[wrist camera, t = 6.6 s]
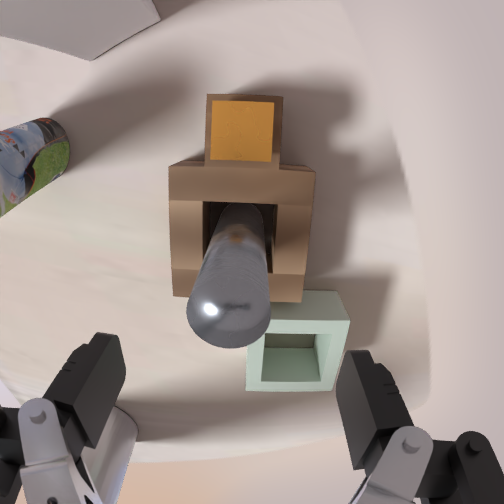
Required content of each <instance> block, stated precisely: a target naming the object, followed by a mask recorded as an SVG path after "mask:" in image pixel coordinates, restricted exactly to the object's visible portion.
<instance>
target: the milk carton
mask: <svg viewBox="0 0 504 504" xmlns="http://www.w3.org/2000/svg"><path fill="white" fill-rule="evenodd" d="M158 21H160V17H159V14H158V12H157V10H156V8H155V6H154V4H153V1H152V0H0V36H3V37H7V38H11V39H15V40H19V41H23V42H27V43H31V44H35V45H38V46H42V47H45V48H49V49H52V50H56V51H59V52H62V53H65V54H69V55H72V56H75V57H78V58H81V59H84V60H87V61H92V60H93V59H95V58H96V57H98V56H99V55H101V54H102V53H104V52H105V51H107V50H109V49H110V48H112V47H113V46H115V45H117V44H118V43H120V42H122V41H124V40H125V39H127V38H129V37H130V36H132V35H134V34H136V33H138V32H139V31H141V30H143V29H145V28H147V27H149V26H151V25H153V24H155V23H156V22H158Z"/></svg>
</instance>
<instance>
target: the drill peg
mask: <svg viewBox="0 0 504 504" xmlns="http://www.w3.org/2000/svg"><path fill="white" fill-rule="evenodd" d="M186 313H187V319H188V322H189V324H190V326H191V328H192V329H193V331H194V332H195V333H196V334H197V335H198V336H199V337H200V338H201V339H203V340H204V341H206V342H207V343H209V344H212V345H214V346H217V347H222V348H240V347H244V346H247V345H250V344H252V343H254V342H255V341H257V340H258V339H259V338H261V337H262V336H263V334H264V333H265V332H266V330H267V329H268V327H269V324H270V320H271V307H270V295H269V284H268V272H267V261H266V250H265V239H264V228H263V219H262V215H261V213H260V211H259V210H258V209H257V208H256V207H255V206H254V205H252V204H250V203H240V202H234V203H231V204H230V205H228V206H227V207H226V208H225V209H224V210H223V211H222V213H221V215H220V218H219V220H218V223H217V226H216V228H215V231H214V233H213V236H212V238H211V241H210V244H209V246H208V249H207V252H206V254H205V257H204V259H203V262H202V265H201V267H200V270H199V273H198V275H197V278H196V281H195V284H194V286H193V289H192V292H191V295H190V297H189V300H188V303H187V312H186Z"/></svg>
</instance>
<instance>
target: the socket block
mask: <svg viewBox="0 0 504 504" xmlns="http://www.w3.org/2000/svg"><path fill="white" fill-rule="evenodd" d="M212 101H252V102H271V103H274V117H273V136H272V153H271V162H263V161H241V160H210V152H211V123H212ZM282 110H283V97H280V96H265V95H243V94H207V104H206V129H205V161H180V162H178V163H175V164H173V165H171V166H169V225H170V250H171V269H172V285H173V296H177V297H190V295H191V292H192V289H193V286H194V284H195V281H196V278H197V275H198V273H199V270H200V267H201V265H202V262H203V259H204V257H205V254H206V252H207V249H208V246H209V244H210V201H214V202H240V203H262V204H274V210H273V224H272V239H271V253H266V261H267V272H268V284H269V295H270V302H301V301H302V294H303V286H304V278H305V270H306V262H307V254H308V245H309V236H310V227H311V217H312V207H313V197H314V186H315V174H316V172H314V171H313V170H311V169H310V168H308V167H307V166H298V165H284V164H279V162H280V146H281V128H282Z"/></svg>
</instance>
